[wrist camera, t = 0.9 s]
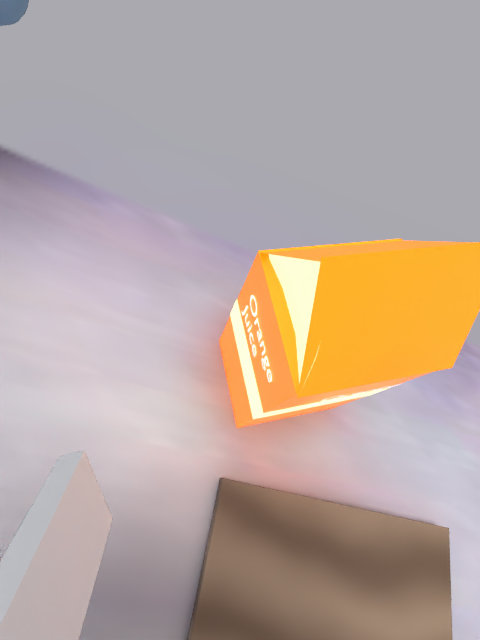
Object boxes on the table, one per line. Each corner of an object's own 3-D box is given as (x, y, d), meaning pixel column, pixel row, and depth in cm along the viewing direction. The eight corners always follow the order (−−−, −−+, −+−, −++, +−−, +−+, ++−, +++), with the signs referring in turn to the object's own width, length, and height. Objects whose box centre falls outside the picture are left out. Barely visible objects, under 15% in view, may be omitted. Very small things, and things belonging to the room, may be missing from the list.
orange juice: (218, 339, 32) (289, 169, 14) (310, 326, 34) (475, 164, 16) (236, 430, 30) (354, 368, 11) (334, 410, 32) (565, 330, 14)
